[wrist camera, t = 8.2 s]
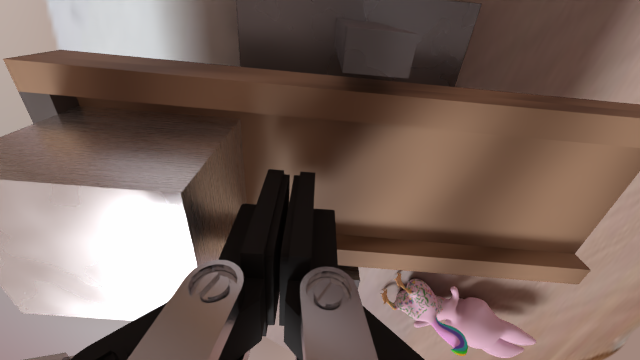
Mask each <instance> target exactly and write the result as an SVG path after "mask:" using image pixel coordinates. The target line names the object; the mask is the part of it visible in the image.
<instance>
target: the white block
mask: <svg viewBox="0 0 640 360" xmlns="http://www.w3.org/2000/svg"><path fill="white" fill-rule="evenodd" d="M243 203H244V204H247V200H246V187H245V174H244V161H243V148H242V135H241V123H240V119H237V118H225V117H212V116H200V115H188V114H175V113H163V112H150V111H138V110H126V109H113V108H101V107H88V106H78V107H75V108H73V109H70V110H68V111H65V112H63V113H60V114H57V115H55V116H52V117H50V118H47V119H45V120H42V121H40V122H37V123H35V124H32V125H30V126H27V127H24V128H22V129H20V130H17V131H14V132H12V133H9V134H7V135H4V136H2V137H0V286H1V287H2V289H3V290H4V291H5V292H6V293H7V295H8V296H9V297H10V299H11V300H12V301H13V302H14V304H15V305H16V306H17V307H18V309H19V310H20V311H21V312H22V313H28V314H42V315H43V314H44V315H57V316H71V317H86V318H100V319H115V320H129V321H134V320H136V319H138V318H139V317H141V316H143V315H145V314H147V313H148V312H150V311H152V310H154V309H155V308H157V307H159V306H161V305H163V304H164V303H166V302H168V301H169V300H170V298H171V297H172V295H173V294H174V293H175V291H176V290H177V288H178V287H179V286H180V284H181V283H182V281H183V280H184V278H185V277H186V276H187V275H188V274H189V273H190V272H191V271H192V270H193V269H194V268H196V267H197V266H199V265H201V264H203V263H206V262H208V261H213V260H218V259H219V257H220V255H221V252H222V250H223V247H224V245H225V243H226V240H227V238H228V235H229V233H230V231H231V228H232V226H233V223H234V221H235V218H236V216H237V214H238V211H239V209H240V207H241V205H242V204H243Z"/></svg>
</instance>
